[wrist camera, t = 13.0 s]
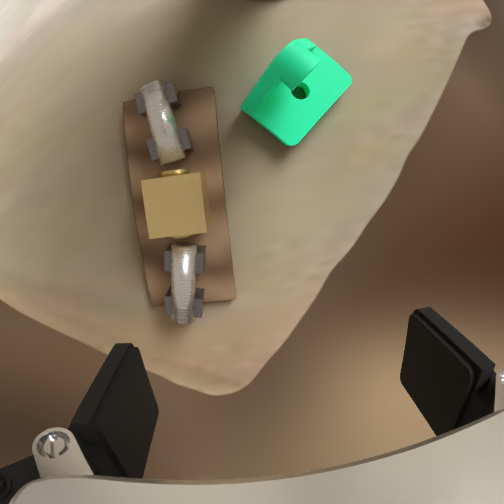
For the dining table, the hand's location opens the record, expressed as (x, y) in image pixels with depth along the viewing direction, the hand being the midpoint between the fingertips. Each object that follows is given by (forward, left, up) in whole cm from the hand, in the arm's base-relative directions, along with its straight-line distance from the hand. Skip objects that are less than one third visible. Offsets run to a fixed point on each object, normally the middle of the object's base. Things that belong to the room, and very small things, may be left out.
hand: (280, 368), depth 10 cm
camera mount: (-14, +7, -31) cm, 35 cm away
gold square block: (-3, -7, -29) cm, 30 cm away
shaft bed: (-3, -8, -30) cm, 31 cm away
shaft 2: (+6, -8, -29) cm, 31 cm away
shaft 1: (-12, -8, -29) cm, 32 cm away
